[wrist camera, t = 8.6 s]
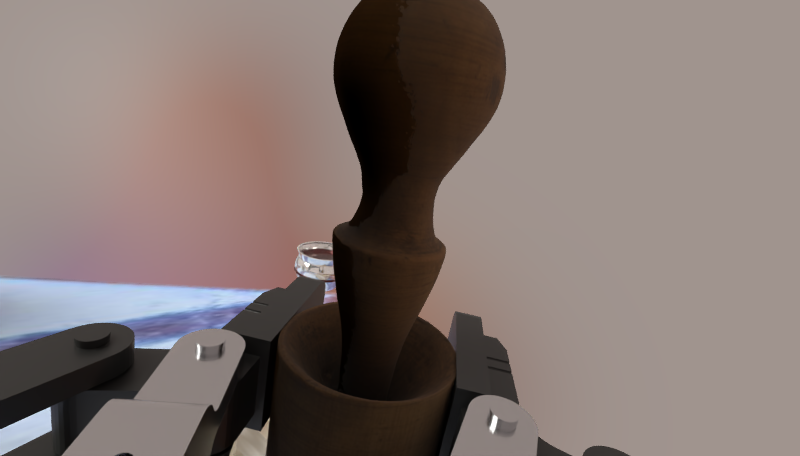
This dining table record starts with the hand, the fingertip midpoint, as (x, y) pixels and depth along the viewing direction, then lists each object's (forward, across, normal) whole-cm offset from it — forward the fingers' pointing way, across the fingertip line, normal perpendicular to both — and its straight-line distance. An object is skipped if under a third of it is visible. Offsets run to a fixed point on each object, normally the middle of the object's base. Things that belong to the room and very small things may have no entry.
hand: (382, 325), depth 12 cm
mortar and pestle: (-3, 0, +10) cm, 11 cm away
